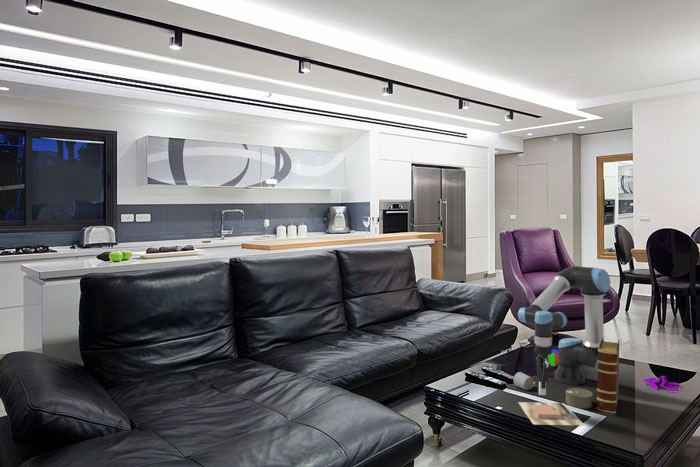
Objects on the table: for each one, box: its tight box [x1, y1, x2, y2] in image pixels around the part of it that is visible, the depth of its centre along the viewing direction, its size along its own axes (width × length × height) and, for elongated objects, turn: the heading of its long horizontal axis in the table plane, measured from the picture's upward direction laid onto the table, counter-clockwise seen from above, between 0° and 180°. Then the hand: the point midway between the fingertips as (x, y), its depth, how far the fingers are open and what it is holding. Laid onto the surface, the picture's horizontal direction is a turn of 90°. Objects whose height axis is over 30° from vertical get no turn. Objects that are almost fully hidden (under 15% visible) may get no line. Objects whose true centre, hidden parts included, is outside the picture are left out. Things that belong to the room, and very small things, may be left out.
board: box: [517, 401, 585, 427], centre depth 222 cm, size 22×24×1 cm
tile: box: [531, 405, 561, 419], centre depth 221 cm, size 10×2×10 cm
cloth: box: [642, 375, 682, 392], centre depth 258 cm, size 22×19×6 cm
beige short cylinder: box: [564, 387, 594, 409], centre depth 233 cm, size 12×12×7 cm
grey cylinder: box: [512, 371, 536, 391], centre depth 257 cm, size 11×8×8 cm
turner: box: [558, 402, 578, 419], centre depth 224 cm, size 4×16×1 cm, turn 176°
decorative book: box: [596, 339, 620, 414], centre depth 232 cm, size 22×8×30 cm, turn 148°
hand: (542, 394), depth 226 cm, fingers closed
